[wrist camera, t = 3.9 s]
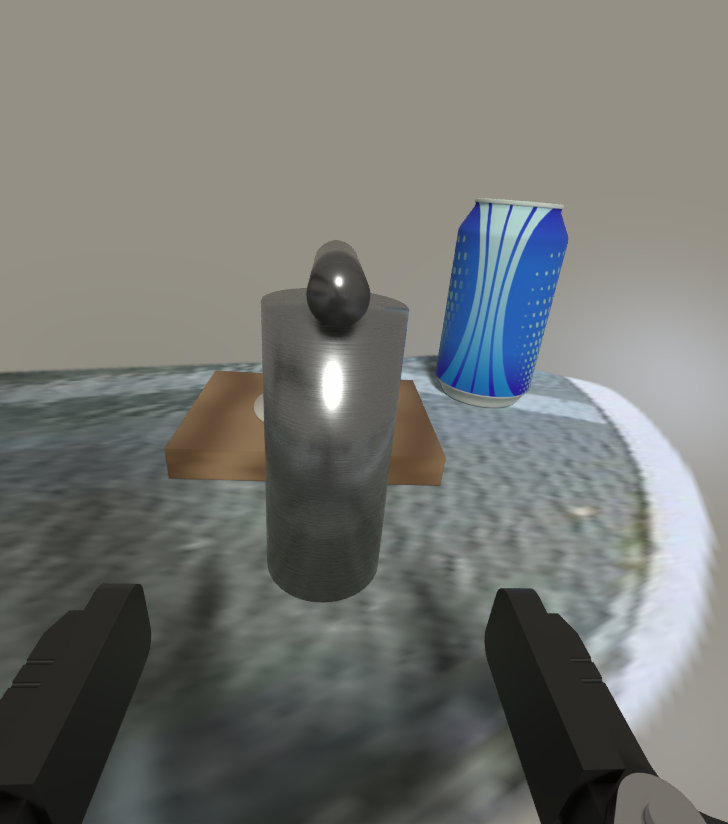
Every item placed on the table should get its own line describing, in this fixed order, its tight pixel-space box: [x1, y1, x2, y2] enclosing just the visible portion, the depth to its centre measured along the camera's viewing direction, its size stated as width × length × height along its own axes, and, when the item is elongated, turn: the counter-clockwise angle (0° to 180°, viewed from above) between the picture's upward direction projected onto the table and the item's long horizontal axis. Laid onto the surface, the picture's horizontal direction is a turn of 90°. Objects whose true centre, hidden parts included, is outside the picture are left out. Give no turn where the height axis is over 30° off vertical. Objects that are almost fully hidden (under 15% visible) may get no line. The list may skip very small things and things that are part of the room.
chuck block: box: [165, 371, 446, 485], centre depth 31 cm, size 16×12×2 cm
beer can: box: [436, 198, 568, 408], centre depth 38 cm, size 8×8×16 cm
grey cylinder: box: [261, 240, 409, 602], centre depth 18 cm, size 5×6×14 cm
